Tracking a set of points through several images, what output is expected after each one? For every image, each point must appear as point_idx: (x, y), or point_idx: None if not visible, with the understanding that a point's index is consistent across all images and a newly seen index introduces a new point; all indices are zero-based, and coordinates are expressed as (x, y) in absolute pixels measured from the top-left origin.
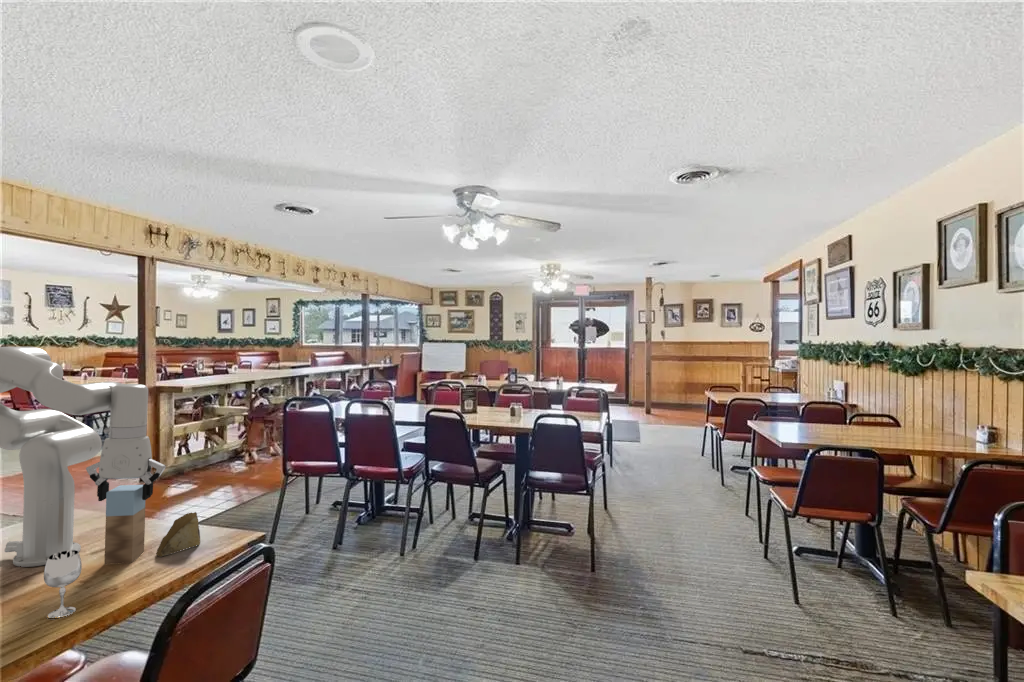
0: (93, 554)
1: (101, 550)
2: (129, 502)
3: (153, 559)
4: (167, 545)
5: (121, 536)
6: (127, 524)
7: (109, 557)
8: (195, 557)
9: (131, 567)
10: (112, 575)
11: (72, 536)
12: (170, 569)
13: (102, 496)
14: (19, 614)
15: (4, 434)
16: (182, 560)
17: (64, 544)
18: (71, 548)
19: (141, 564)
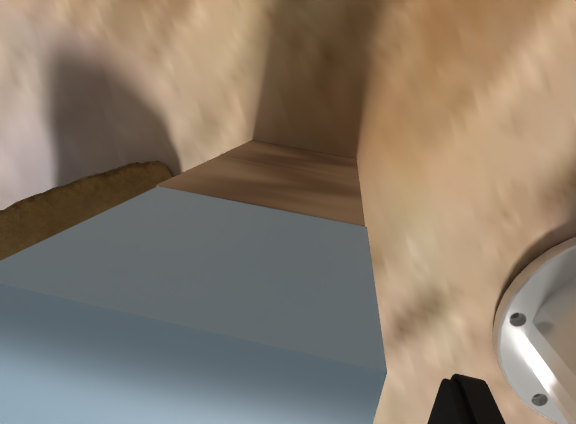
0: (430, 287)
1: (410, 319)
2: (130, 230)
3: (179, 148)
4: (111, 172)
5: (273, 169)
6: (222, 178)
7: (336, 160)
8: (27, 114)
9: (237, 86)
10: (287, 16)
11: (555, 380)
12: (77, 9)
13: (453, 418)
14: None
15: None
16: (65, 97)
17: (570, 320)
18: (530, 337)
19: (208, 107)
